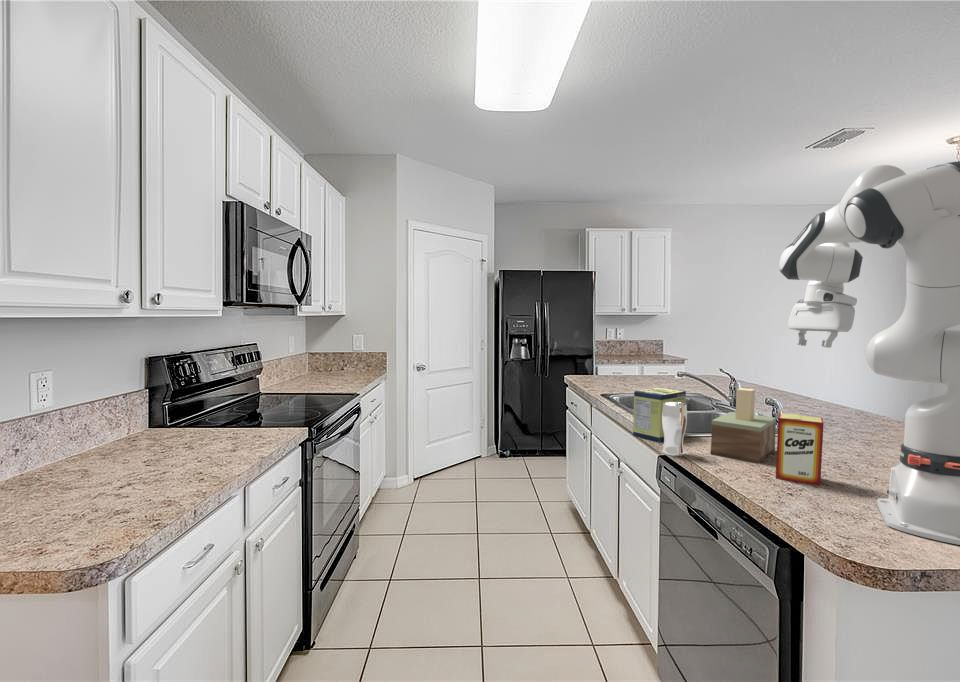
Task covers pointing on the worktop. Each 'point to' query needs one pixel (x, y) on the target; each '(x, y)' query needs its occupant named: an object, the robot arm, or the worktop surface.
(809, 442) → the baking soda box
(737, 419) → the lid
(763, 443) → the open wooden box
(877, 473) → the worktop surface
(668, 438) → the beer glass
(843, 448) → the worktop surface
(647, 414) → the protein box
